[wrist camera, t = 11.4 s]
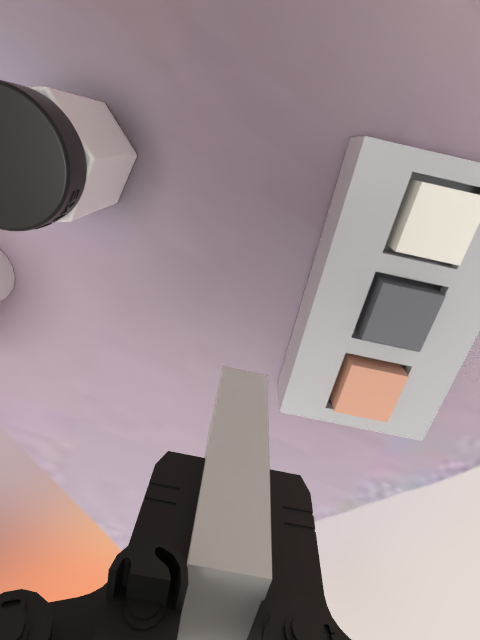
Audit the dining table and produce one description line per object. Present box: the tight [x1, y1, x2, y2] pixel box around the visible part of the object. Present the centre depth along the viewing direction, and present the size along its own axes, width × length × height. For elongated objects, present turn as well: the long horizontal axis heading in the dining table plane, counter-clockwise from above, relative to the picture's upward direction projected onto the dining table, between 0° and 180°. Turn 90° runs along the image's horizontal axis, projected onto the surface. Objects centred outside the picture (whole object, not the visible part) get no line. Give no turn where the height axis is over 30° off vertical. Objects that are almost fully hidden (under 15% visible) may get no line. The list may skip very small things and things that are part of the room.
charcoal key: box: [355, 272, 446, 352], centre depth 32 cm, size 5×5×3 cm
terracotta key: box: [330, 353, 409, 423], centre depth 35 cm, size 5×5×3 cm
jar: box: [0, 80, 137, 231], centre depth 27 cm, size 9×8×12 cm
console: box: [278, 136, 480, 441], centre depth 34 cm, size 24×14×5 cm, turn 168°
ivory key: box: [386, 179, 480, 266], centre depth 29 cm, size 5×5×3 cm
